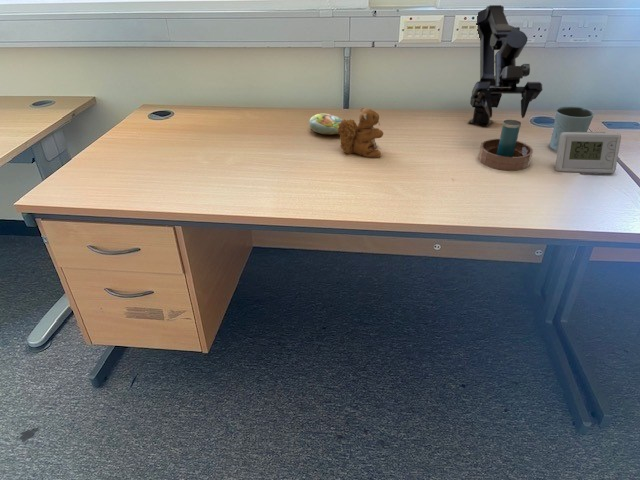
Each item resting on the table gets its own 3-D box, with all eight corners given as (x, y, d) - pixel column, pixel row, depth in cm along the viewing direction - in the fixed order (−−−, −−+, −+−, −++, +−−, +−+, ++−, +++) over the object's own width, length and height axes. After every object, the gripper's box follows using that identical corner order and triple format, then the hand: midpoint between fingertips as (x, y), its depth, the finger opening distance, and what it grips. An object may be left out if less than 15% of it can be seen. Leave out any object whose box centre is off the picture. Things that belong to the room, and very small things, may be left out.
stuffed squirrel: (382, 157, 140) (385, 115, 132) (336, 157, 140) (336, 115, 133) (381, 145, 148) (383, 104, 140) (337, 145, 149) (337, 104, 141)
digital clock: (552, 173, 129) (562, 137, 123) (549, 160, 136) (558, 125, 130) (616, 180, 124) (630, 143, 118) (610, 166, 131) (623, 130, 126)
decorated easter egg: (329, 114, 166) (351, 110, 153) (329, 136, 167) (351, 134, 154) (302, 113, 161) (322, 108, 148) (302, 136, 162) (322, 133, 149)
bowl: (488, 148, 144) (491, 135, 141) (535, 159, 136) (539, 145, 134) (470, 164, 134) (473, 150, 132) (519, 176, 127) (523, 162, 125)
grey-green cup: (586, 148, 142) (598, 110, 136) (575, 158, 136) (587, 119, 130) (553, 140, 148) (563, 103, 141) (541, 150, 142) (551, 112, 135)
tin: (498, 155, 138) (506, 118, 131) (514, 159, 135) (523, 121, 129) (492, 161, 135) (500, 123, 128) (509, 165, 132) (517, 126, 126)
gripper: (480, 52, 129) (481, 103, 126) (549, 52, 128) (551, 104, 125) (470, 74, 140) (471, 121, 137) (533, 74, 138) (536, 122, 135)
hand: (507, 117), depth 133 cm, fingers open, 9 cm apart
